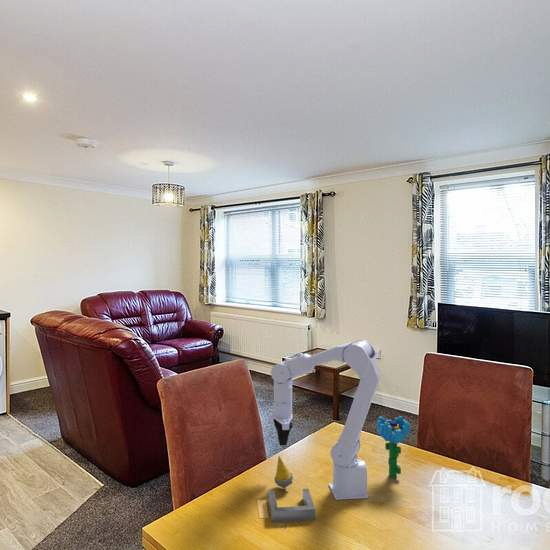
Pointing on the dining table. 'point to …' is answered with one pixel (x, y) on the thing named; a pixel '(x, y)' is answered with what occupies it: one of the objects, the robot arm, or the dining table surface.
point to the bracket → (292, 509)
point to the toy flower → (393, 440)
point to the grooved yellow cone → (283, 475)
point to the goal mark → (262, 509)
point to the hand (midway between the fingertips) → (282, 443)
